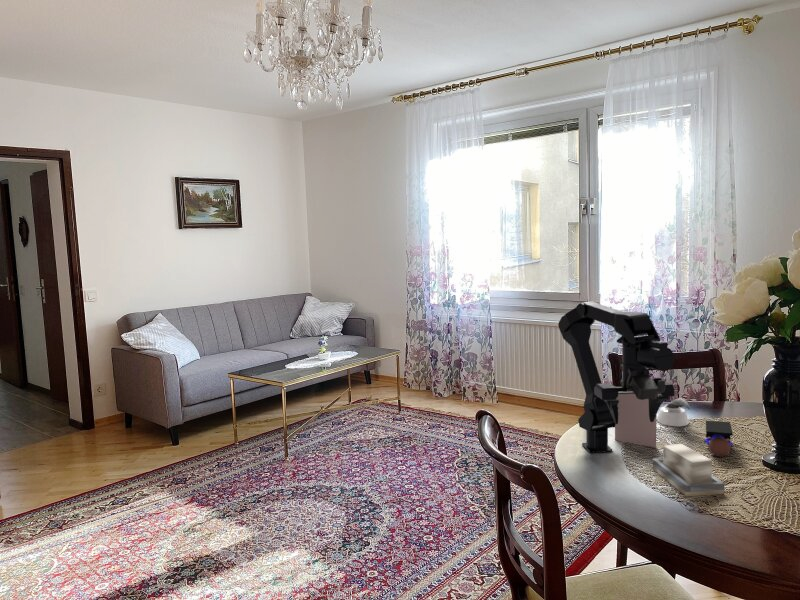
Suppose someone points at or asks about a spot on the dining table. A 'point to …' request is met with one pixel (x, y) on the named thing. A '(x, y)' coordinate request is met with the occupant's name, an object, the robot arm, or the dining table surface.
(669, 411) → the inkwell
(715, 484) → the jig board
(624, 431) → the greeting card
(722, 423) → the figurine character
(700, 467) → the block
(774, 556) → the dining table surface
